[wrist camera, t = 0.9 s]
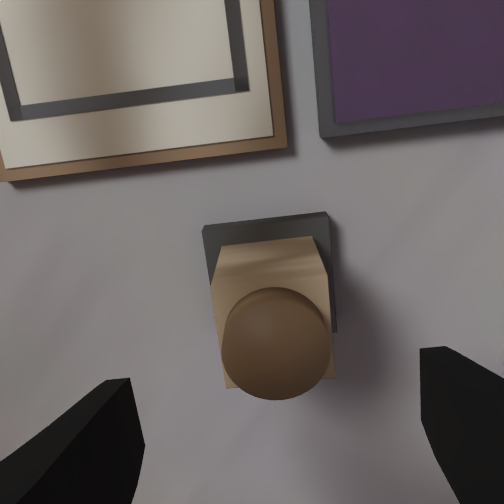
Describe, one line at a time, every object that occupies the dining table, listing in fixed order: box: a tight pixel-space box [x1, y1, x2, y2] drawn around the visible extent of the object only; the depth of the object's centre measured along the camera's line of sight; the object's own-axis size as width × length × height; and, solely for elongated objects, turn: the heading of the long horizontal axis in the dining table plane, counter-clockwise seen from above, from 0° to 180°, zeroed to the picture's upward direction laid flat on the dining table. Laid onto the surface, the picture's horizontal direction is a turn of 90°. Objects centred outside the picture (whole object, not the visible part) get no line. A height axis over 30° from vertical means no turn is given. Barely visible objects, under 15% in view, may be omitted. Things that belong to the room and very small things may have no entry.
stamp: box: [202, 212, 337, 400], centre depth 17 cm, size 5×5×7 cm
